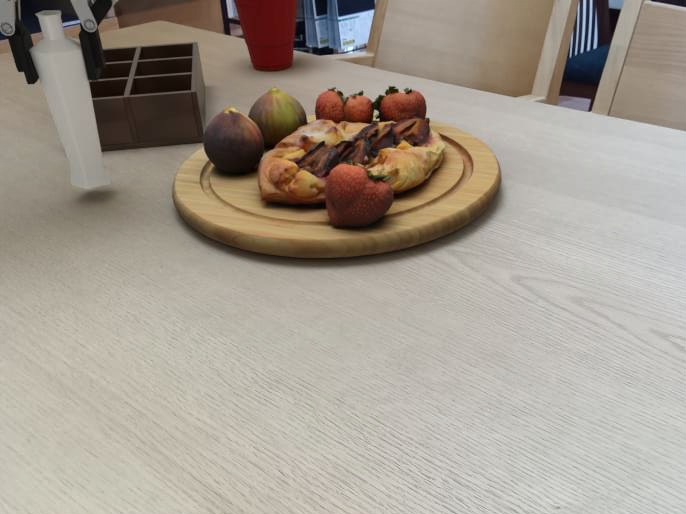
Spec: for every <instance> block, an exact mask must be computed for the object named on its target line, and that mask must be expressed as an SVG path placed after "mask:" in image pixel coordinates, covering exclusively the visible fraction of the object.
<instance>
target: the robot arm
mask: <svg viewBox="0 0 686 514" xmlns="http://www.w3.org/2000/svg"><path fill="white" fill-rule="evenodd" d="M69 1H70V3H71V5H72V7H73V9H74V11H75V13H76V15H77V17H78V20H79V22H80V23H79V28H80V31H79V32H78V41H80V44H81V48H82V53H83V57H84V61H85V65H86V69H87V73H88V77H89V80H90V79H91V80H92V81H98V79H99V76H100V74H101V69H100V68H105V67H106V62H105V57H104V52H103V48H104V47H103V45H102V39H101V36H100V31H99V26H100V25H101V23H102V22H103V21H104V19H105V18H106V16H107V15H108V13H109V12H110V10H111V9H112V7H113V6H115V4H117V3H118V2H119V1H120V0H69ZM0 32H1V34H3V35H4V36H6V38H7V41H8V44H9V47H10V50H11V55H12V58H13V61H14V65H15V68H16V71H17V72H18V73H23V74H24V78H25V81H26V84H27V85H35V84H36V83H38V81H39V77H38V74H37V71H36V69H35V66H34V63H33V60H32V57H31V55H30V52H29V49H30V48H32V47H33V46H34V45H35V44H34V41H33V38H32V33H31V31H30V30H29V29H28V28H27V26H26V27H25V25H24V22H23V21H22V19H21V0H0Z"/></svg>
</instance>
